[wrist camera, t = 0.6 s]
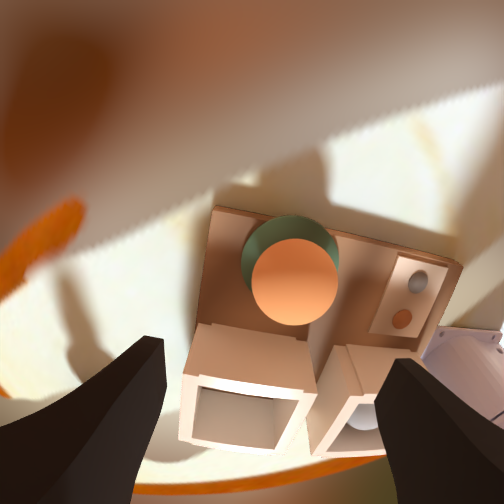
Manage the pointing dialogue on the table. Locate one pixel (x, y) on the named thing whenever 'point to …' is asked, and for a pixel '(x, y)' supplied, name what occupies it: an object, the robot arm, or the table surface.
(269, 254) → the orange ball
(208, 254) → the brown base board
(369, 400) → the open square box
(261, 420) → the beige open box
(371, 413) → the grey ball
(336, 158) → the table surface
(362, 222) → the table surface
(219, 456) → the table surface
